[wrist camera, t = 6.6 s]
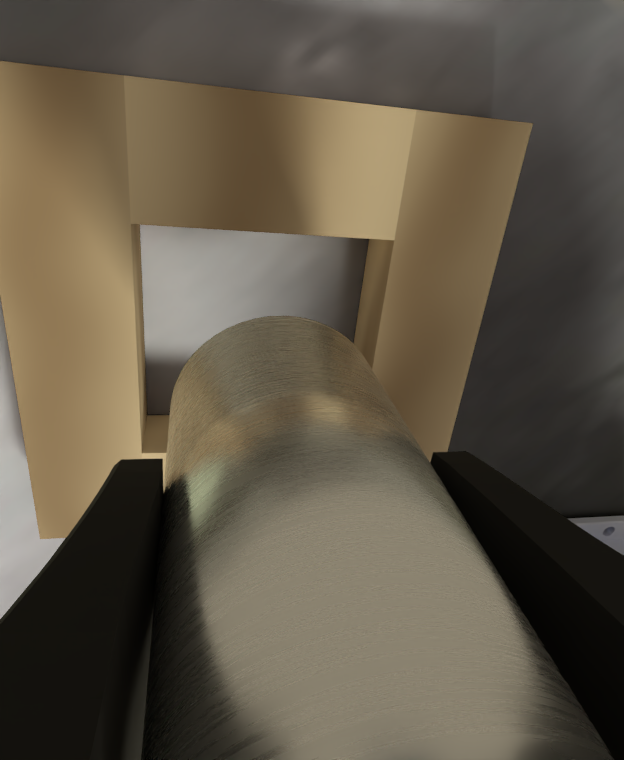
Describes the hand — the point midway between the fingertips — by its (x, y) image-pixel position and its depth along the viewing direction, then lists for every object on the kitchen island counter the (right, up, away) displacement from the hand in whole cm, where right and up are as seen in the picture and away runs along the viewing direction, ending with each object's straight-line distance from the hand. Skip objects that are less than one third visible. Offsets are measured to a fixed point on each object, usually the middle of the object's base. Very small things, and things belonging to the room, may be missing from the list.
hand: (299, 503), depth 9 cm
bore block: (-2, +4, +7) cm, 8 cm away
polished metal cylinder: (-1, +1, +3) cm, 3 cm away
